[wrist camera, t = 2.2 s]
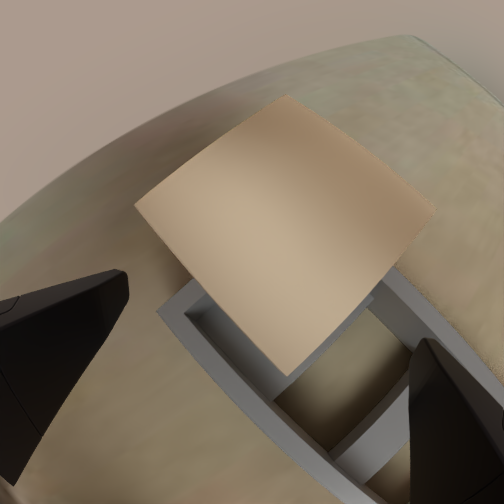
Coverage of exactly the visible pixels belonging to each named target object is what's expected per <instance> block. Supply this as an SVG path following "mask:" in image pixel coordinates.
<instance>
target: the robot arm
mask: <svg viewBox="0 0 504 504" xmlns="http://www.w3.org/2000/svg"><path fill="white" fill-rule="evenodd" d="M128 300H129V286H128V276H127V273H126V272H124V271H121V270H117V269H112V270H109V271H105V272H102V273H98V274H94V275H91V276H87V277H83V278H80V279H76V280H73V281H69V282H66V283H62V284H58V285H55V286H51V287H48V288H44V289H41V290H37V291H34V292H30V293H27V294H24V295H21V296H17V297H13V298H10V299H6V300H2V301H0V476H2V477H3V478H4V479H5V480H6V481H7V482H8V483H10V484H11V485H12V486H14V485H15V484H16V482H17V481H18V479H19V477H20V475H21V473H22V472H23V470H24V468H25V466H26V464H27V463H28V461H29V459H30V457H31V456H32V454H33V452H34V450H35V449H36V447H37V445H38V444H39V442H40V440H41V439H42V436H43V435H44V433H45V432H46V430H47V428H48V427H49V425H50V424H51V422H52V420H53V419H54V417H55V415H56V414H57V412H58V411H59V409H60V408H61V406H62V404H63V403H64V401H65V400H66V398H67V397H68V395H69V394H70V392H71V390H72V389H73V387H74V386H75V384H76V383H77V381H78V380H79V378H80V377H81V375H82V374H83V372H84V371H85V369H86V368H87V366H88V365H89V363H90V362H91V361H92V359H93V358H94V356H95V355H96V353H97V352H98V350H99V349H100V348H101V346H102V345H103V343H104V342H105V340H106V339H107V337H108V336H109V334H110V332H111V330H112V329H113V327H114V325H115V323H116V321H117V320H118V318H119V316H120V314H121V313H122V311H123V309H124V307H125V306H126V304H127V302H128ZM408 413H409V431H410V504H504V410H503V407H502V406H501V405H500V404H499V403H498V402H497V401H496V399H495V398H494V397H493V396H492V395H491V394H490V393H489V392H488V391H487V390H486V389H485V388H484V387H483V386H482V385H481V384H480V383H479V382H478V381H477V380H476V379H475V378H474V377H473V376H472V375H471V374H470V373H469V372H468V371H467V370H466V369H465V368H464V367H463V366H462V365H461V364H460V363H459V362H458V361H457V360H456V359H455V358H454V357H453V356H452V355H451V354H450V353H449V352H448V351H447V350H446V349H445V348H444V347H443V346H442V345H441V344H440V343H439V342H438V341H437V340H435V339H433V338H426V337H424V338H422V339H421V340H420V341H419V343H418V345H417V347H416V349H415V351H414V353H413V354H412V356H411V359H410V362H409V398H408Z"/></svg>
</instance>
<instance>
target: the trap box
mask: <svg viewBox="0 0 504 504" xmlns="http://www.w3.org/2000/svg"><path fill="white" fill-rule="evenodd" d="M366 307H367V308H368V309H369V310H370V311H371V312H372V313H373V314H374V315H375V316H376V317H377V318H378V319H379V320H380V321H381V322H382V323H383V324H384V325H385V326H386V327H387V328H388V329H389V330H390V331H391V332H392V333H393V334H394V335H395V336H396V337H397V338H398V339H399V340H400V341H401V342H402V343H403V344H404V345H405V346H406V347H407V348H408V349H409V350H410V351H411V352H412V353H414V351H415V349H416V347H417V345H418V343H419V341H420V340H421V339H422V338H424V337H426V338H433V339H435V340H437V341H438V342H439V343H440V344H441V345H442V346H443V347H444V348H445V349H446V350H447V351H448V352H449V353H450V354H451V355H452V356H453V357H454V358H455V359H456V360H457V361H458V362H459V363H460V364H461V365H462V366H463V367H464V368H465V369H466V370H467V371H468V372H469V373H470V374H471V375H472V376H473V377H474V378H475V379H476V380H477V381H478V382H479V383H480V384H481V385H482V386H483V387H484V388H485V389H486V390H487V391H488V392H489V393H490V394H491V395H492V396H493V397H494V398H495V399H496V401H497V402H498V403H499V404H500V405H501V406H502V407H503V410H504V387H503V385H502V384H501V383H500V382H499V380H498V379H497V378H496V377H495V375H494V374H493V373H492V372H491V371H490V369H489V368H488V367H487V366H486V365H485V363H484V362H483V361H482V360H481V359H480V357H479V356H478V355H477V354H476V353H475V352H474V350H473V349H472V348H471V347H470V346H469V345H468V344H467V342H466V341H465V340H464V339H463V338H462V337H461V336H460V335H459V333H458V332H457V331H456V330H455V329H454V328H453V327H452V326H451V325H450V324H449V323H448V321H447V320H446V319H445V318H444V317H443V316H442V315H441V314H440V313H439V312H438V311H437V310H436V309H435V308H434V307H433V305H432V304H431V303H430V302H429V301H428V300H427V299H426V298H425V297H424V296H423V295H422V294H421V293H420V292H419V291H418V290H417V289H416V288H415V287H414V286H413V285H412V284H411V283H410V282H409V281H408V280H407V279H406V278H405V277H404V276H403V275H402V274H401V273H400V272H399V271H398V270H397V269H396V268H395V267H394V266H392V267H391V268H390V270H389V271H388V272H387V273H386V274H385V275H384V277H383V278H382V279H381V280H380V281H379V282H378V284H377V285H376V286H375V287H374V288H373V289H372V290H371V291H370V293H369V294H368V295H367V296H366V297H365V298H364V299H363V300H362V302H361V303H360V304H359V305H358V306H357V307H356V308H355V309H354V310H353V311H352V312H351V313H350V315H349V316H348V317H347V318H346V319H345V320H344V321H343V322H342V323H341V324H340V325H339V326H338V327H337V328H336V329H335V330H334V331H333V332H332V333H331V334H330V335H329V336H328V337H327V338H326V339H325V341H324V342H323V343H322V344H321V345H320V346H319V347H317V348H316V349H315V350H314V351H313V352H312V353H311V354H310V355H309V356H308V357H307V358H306V359H305V360H304V361H303V362H302V363H301V364H300V365H299V366H298V367H297V368H296V369H295V370H294V371H293V372H292V373H290V374H289V375H288V376H285V375H284V374H283V373H282V372H281V371H279V370H278V369H277V368H276V367H275V366H274V365H273V363H272V362H271V361H270V360H269V359H268V358H267V357H266V356H265V355H264V354H263V353H262V352H261V351H260V350H259V349H258V348H257V347H256V346H255V345H254V344H253V343H252V342H251V340H250V339H249V338H248V337H247V336H246V335H245V334H244V333H243V332H242V331H241V330H240V329H239V328H238V327H237V326H236V324H235V323H234V322H233V321H232V320H231V319H230V318H229V317H228V316H227V315H226V314H225V312H224V311H223V310H222V309H221V308H220V307H219V306H218V305H217V304H216V302H215V301H214V300H213V299H212V298H211V297H210V296H209V295H208V293H207V292H206V291H205V290H204V289H203V288H202V287H201V285H200V284H199V283H198V282H197V281H196V280H195V279H194V278H193V279H192V280H190V281H189V282H188V283H187V284H186V285H185V286H184V287H183V288H181V289H180V290H179V291H178V292H177V293H176V294H175V295H174V296H172V297H171V298H170V299H169V300H168V301H167V302H166V303H165V304H163V305H162V306H161V307H160V308H159V309H158V310H157V311H156V312H157V313H158V314H159V316H160V317H161V318H162V320H163V321H164V322H165V323H166V325H167V326H168V327H169V328H170V330H171V331H172V332H173V333H174V335H175V336H176V337H177V338H178V339H179V341H180V342H181V343H182V344H183V346H184V347H185V348H186V349H187V350H188V351H189V353H190V354H191V355H192V356H193V357H194V359H195V360H196V361H197V362H198V363H199V364H200V365H201V367H202V368H203V369H204V370H205V371H206V372H207V373H208V375H209V376H210V377H211V378H212V379H213V380H214V381H215V382H216V383H217V385H218V386H219V387H220V388H221V389H222V390H223V391H224V392H225V393H226V394H227V395H228V396H229V398H230V399H231V400H232V401H233V402H234V403H235V404H236V405H237V406H238V407H239V408H240V409H241V410H242V411H243V412H244V413H245V414H246V415H247V416H248V417H249V418H250V419H251V420H252V421H253V422H254V423H255V424H256V425H257V426H258V427H259V428H260V429H261V430H262V431H263V432H264V433H265V434H266V435H267V436H268V437H269V438H270V439H271V440H272V441H273V442H274V443H275V444H276V445H277V446H278V447H279V448H280V449H281V450H283V451H284V452H285V453H286V454H287V455H288V456H289V457H290V458H291V459H292V460H293V461H295V462H296V463H297V464H298V465H299V466H300V467H301V468H302V469H304V470H305V471H306V472H307V473H308V474H309V475H310V476H312V477H313V478H314V479H315V480H316V481H317V482H319V483H320V484H321V485H322V486H323V487H325V488H326V489H327V490H328V491H330V492H331V493H332V494H333V495H334V496H336V497H337V498H338V499H339V500H341V501H342V502H343V503H345V504H389V503H387V502H386V501H385V500H383V499H382V498H381V497H380V496H378V495H377V494H376V493H375V492H373V491H372V490H371V489H370V488H369V487H367V486H366V485H365V483H366V482H367V481H368V480H369V479H370V478H371V477H372V476H373V475H374V474H375V473H377V472H378V471H379V470H380V469H381V468H382V467H383V466H384V465H385V464H386V463H387V462H388V461H389V460H390V459H391V458H392V457H393V456H394V455H395V454H396V453H397V452H398V451H399V450H400V449H401V448H402V446H403V445H404V444H405V443H406V442H407V441H408V440H409V439H410V431H409V413H408V398H409V369H408V370H407V371H406V373H405V374H404V375H403V376H402V377H401V379H400V380H399V381H398V382H397V383H396V384H395V385H394V387H393V388H392V389H391V390H390V391H389V392H388V393H387V395H386V396H385V397H384V398H383V399H382V400H381V401H380V402H379V403H378V404H377V405H376V407H375V408H374V409H373V410H372V411H371V412H370V413H369V414H368V415H367V416H366V417H365V418H364V419H363V420H362V421H361V422H360V423H359V424H358V425H357V426H356V427H355V428H354V429H353V430H352V431H351V432H350V433H349V434H348V435H347V436H346V437H345V438H343V439H342V440H341V441H340V442H339V443H338V444H337V445H336V446H335V447H334V448H333V449H331V450H330V451H329V452H327V451H326V450H325V449H323V448H322V447H321V446H320V445H319V444H318V443H317V442H316V441H315V440H314V439H313V438H311V437H310V436H309V435H308V434H307V433H306V432H305V431H304V430H303V429H302V428H301V427H300V426H299V425H298V424H297V423H296V422H295V421H294V420H292V419H291V418H290V417H289V416H288V415H287V414H286V413H285V412H284V411H283V410H282V409H281V408H280V407H279V406H278V405H277V404H276V403H275V402H274V401H273V400H274V399H275V398H276V397H277V396H278V395H279V394H281V393H282V392H283V391H284V390H285V389H286V388H287V387H288V386H289V385H290V384H292V383H293V382H294V381H295V380H296V379H297V378H298V377H299V376H300V375H301V374H302V373H303V372H304V371H305V370H306V369H307V368H308V367H310V366H311V365H312V364H313V363H314V362H315V361H316V360H317V359H318V358H319V357H320V356H321V355H322V354H323V353H324V352H325V351H326V350H327V349H328V348H329V347H330V346H331V345H332V344H333V343H334V342H335V341H336V340H337V339H338V337H339V336H340V335H341V334H342V333H343V332H344V331H345V330H346V329H347V328H348V327H349V326H350V325H351V324H352V323H353V322H354V321H355V319H356V318H357V317H358V316H359V315H360V314H361V313H362V312H363V311H364V310H365V308H366ZM407 504H410V501H409V502H408V503H407Z"/></svg>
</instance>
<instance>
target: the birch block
mask: <svg viewBox="0 0 504 504" xmlns="http://www.w3.org/2000/svg"><path fill="white" fill-rule="evenodd" d="M134 206H135V207H136V208H137V210H138V211H139V212H140V213H141V215H142V216H143V217H144V218H145V220H146V221H147V222H148V223H149V225H150V226H151V227H152V228H153V230H154V231H155V232H156V233H157V234H158V236H159V237H160V238H161V239H162V241H163V242H164V243H165V244H166V245H167V247H168V248H169V249H170V250H171V251H172V253H173V254H174V255H175V256H176V257H177V259H178V260H179V261H180V262H181V263H182V264H183V266H184V267H185V268H186V269H187V270H188V272H189V273H190V274H191V275H192V276H193V277H194V279H195V280H196V281H197V282H198V283H199V284H200V285H201V287H202V288H203V289H204V290H205V291H206V292H207V293H208V295H209V296H210V297H211V298H212V299H213V300H214V301H215V302H216V304H217V305H218V306H219V307H220V308H221V309H222V310H223V311H224V312H225V314H226V315H227V316H228V317H229V318H230V319H231V320H232V321H233V322H234V323H235V324H236V326H237V327H238V328H239V329H240V330H241V331H242V332H243V333H244V334H245V335H246V336H247V337H248V338H249V339H250V340H251V342H252V343H253V344H254V345H255V346H256V347H257V348H258V349H259V350H260V351H261V352H262V353H263V354H264V355H265V356H266V357H267V358H268V359H269V360H270V361H271V362H272V363H273V365H274V366H275V367H276V368H277V369H278V370H279V371H281V372H282V373H283V374H284V375H285V376H288V375H289V374H290V373H292V372H293V371H294V370H295V369H296V368H297V367H298V366H299V365H300V364H301V363H302V362H303V361H304V360H305V359H306V358H307V357H308V356H309V355H310V354H311V353H312V352H313V351H314V350H315V349H316V348H317V347H319V346H320V345H321V344H322V343H323V342H324V341H325V339H326V338H327V337H328V336H329V335H330V334H331V333H332V332H333V331H334V330H335V329H336V328H337V327H338V326H339V325H340V324H341V323H342V322H343V321H344V320H345V319H346V318H347V317H348V316H349V315H350V313H351V312H352V311H353V310H354V309H355V308H356V307H357V306H358V305H359V304H360V303H361V302H362V300H363V299H364V298H365V297H366V296H367V295H368V294H369V293H370V291H371V290H372V289H373V288H374V287H375V286H376V285H377V284H378V282H379V281H380V280H381V279H382V278H383V277H384V275H385V274H386V273H387V272H388V271H389V270H390V268H391V267H392V266H393V265H394V264H395V262H396V261H397V260H398V259H399V258H400V256H401V255H402V254H403V253H404V251H405V250H406V249H407V248H408V246H409V245H410V244H411V243H412V241H413V240H414V239H415V238H416V236H417V235H418V234H419V232H420V231H421V230H422V229H423V227H424V226H425V225H426V223H427V222H428V221H429V219H430V218H431V217H432V215H433V214H434V213H435V211H436V210H437V209H436V208H435V207H434V206H433V205H432V204H431V203H430V202H429V201H428V200H427V199H426V198H425V197H423V196H422V195H421V194H420V193H419V192H418V191H417V190H416V189H414V188H413V187H412V186H411V185H410V184H409V183H407V182H406V181H405V180H404V179H403V178H402V177H400V176H399V175H398V174H397V173H396V172H394V171H393V170H392V169H391V168H390V167H388V166H387V165H386V164H385V163H383V162H382V161H381V160H380V159H378V158H377V157H376V156H375V155H373V154H372V153H371V152H369V151H368V150H367V149H365V148H364V147H363V146H361V145H360V144H359V143H357V142H356V141H355V140H353V139H352V138H351V137H349V136H348V135H347V134H345V133H344V132H342V131H341V130H339V129H338V128H337V127H335V126H334V125H332V124H331V123H329V122H328V121H327V120H325V119H324V118H322V117H321V116H319V115H318V114H316V113H315V112H313V111H312V110H310V109H308V108H307V107H305V106H304V105H302V104H301V103H299V102H297V101H296V100H294V99H293V98H291V97H289V96H288V95H286V94H285V95H283V96H282V97H280V98H278V99H277V100H275V101H274V102H272V103H270V104H269V105H267V106H266V107H264V108H263V109H261V110H260V111H258V112H257V113H255V114H254V115H252V116H251V117H249V118H248V119H246V120H245V121H243V122H242V123H240V124H239V125H237V126H236V127H234V128H233V129H231V130H230V131H228V132H227V133H226V134H224V135H223V136H221V137H220V138H219V139H217V140H216V141H214V142H213V143H212V144H210V145H209V146H207V147H206V148H205V149H203V150H202V151H201V152H199V153H198V154H197V155H195V156H194V157H193V158H191V159H190V160H189V161H187V162H186V163H185V164H183V165H182V166H181V167H180V168H178V169H177V170H176V171H174V172H173V173H172V174H171V175H169V176H168V177H167V178H166V179H164V180H163V181H162V182H161V183H159V184H158V185H157V186H156V187H154V188H153V189H152V190H151V191H150V192H148V193H147V194H146V195H145V196H144V197H142V198H141V199H140V200H139V201H138V202H136V203H135V204H134Z"/></svg>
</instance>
